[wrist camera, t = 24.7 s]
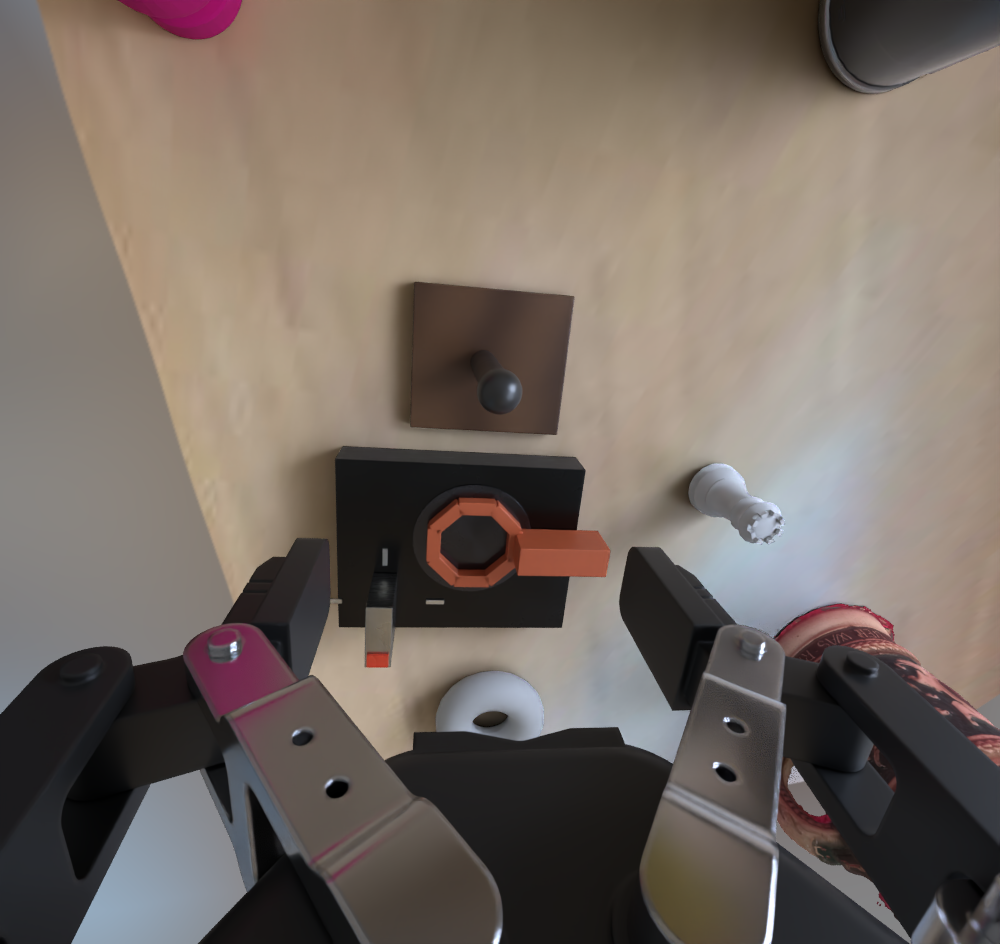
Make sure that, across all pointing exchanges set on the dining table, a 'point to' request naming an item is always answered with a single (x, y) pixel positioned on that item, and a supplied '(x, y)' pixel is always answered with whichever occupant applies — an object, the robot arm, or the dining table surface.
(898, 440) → the dining table surface
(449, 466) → the stove
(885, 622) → the beer stein
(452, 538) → the burner
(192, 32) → the pepper mill
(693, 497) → the rook chess piece
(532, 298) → the peg stand
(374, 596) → the knob
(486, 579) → the hanging ring
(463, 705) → the donut
